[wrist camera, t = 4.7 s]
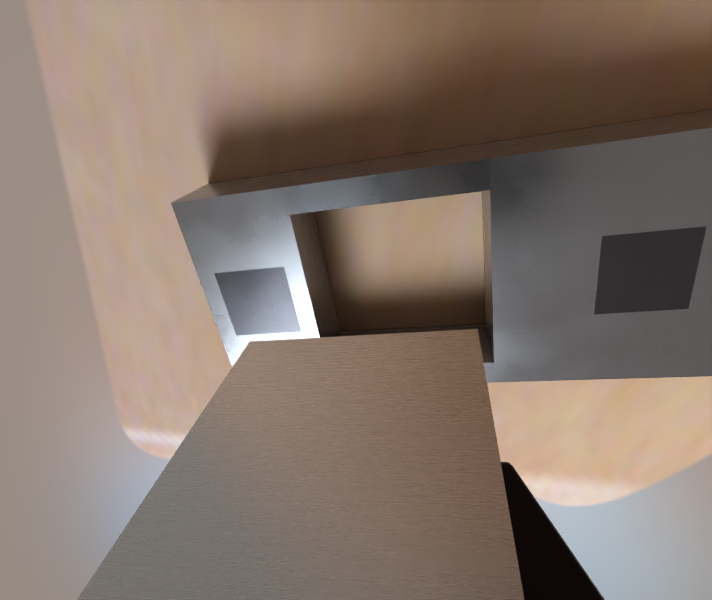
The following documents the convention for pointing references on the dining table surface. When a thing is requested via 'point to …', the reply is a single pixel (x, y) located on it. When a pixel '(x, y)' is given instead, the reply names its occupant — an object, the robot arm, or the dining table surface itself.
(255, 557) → the block
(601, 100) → the dining table surface
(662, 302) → the grey slotted board
